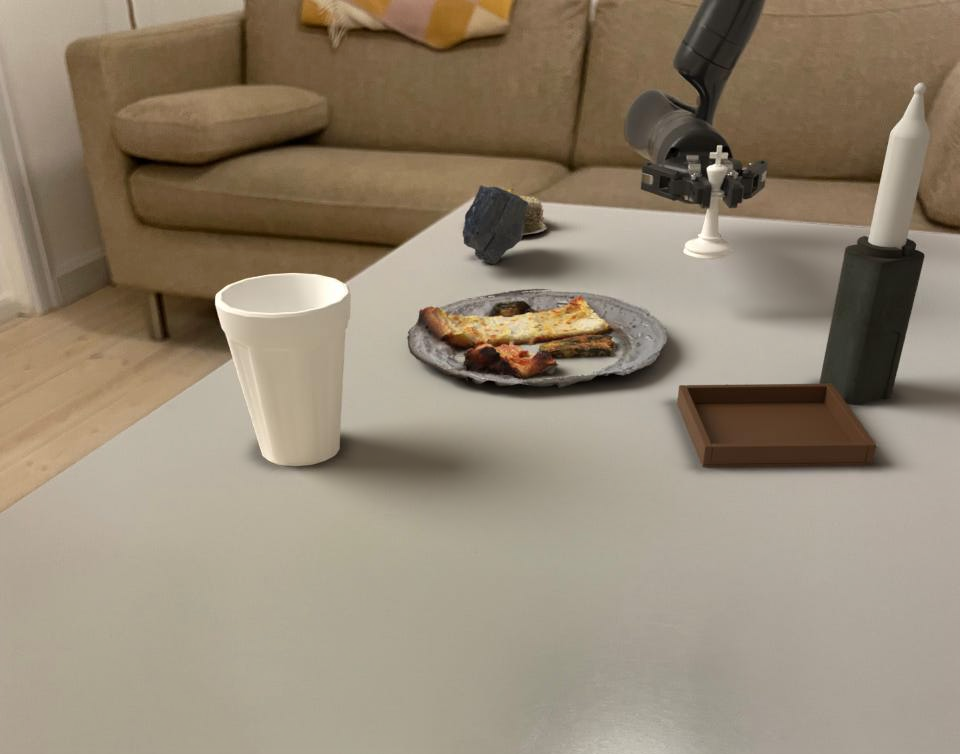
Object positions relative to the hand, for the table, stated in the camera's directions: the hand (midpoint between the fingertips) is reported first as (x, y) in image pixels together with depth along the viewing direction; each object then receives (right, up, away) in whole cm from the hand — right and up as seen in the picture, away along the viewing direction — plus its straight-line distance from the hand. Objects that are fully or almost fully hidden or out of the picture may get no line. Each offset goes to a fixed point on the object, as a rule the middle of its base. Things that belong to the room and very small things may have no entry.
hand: (721, 197), depth 100 cm
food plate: (-18, -15, +2) cm, 23 cm away
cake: (-19, +12, +38) cm, 44 cm away
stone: (-21, +3, +26) cm, 34 cm away
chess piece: (0, -3, +6) cm, 7 cm away
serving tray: (+1, -26, -14) cm, 30 cm away
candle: (+10, -21, -7) cm, 25 cm away
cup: (-38, -28, -16) cm, 50 cm away
